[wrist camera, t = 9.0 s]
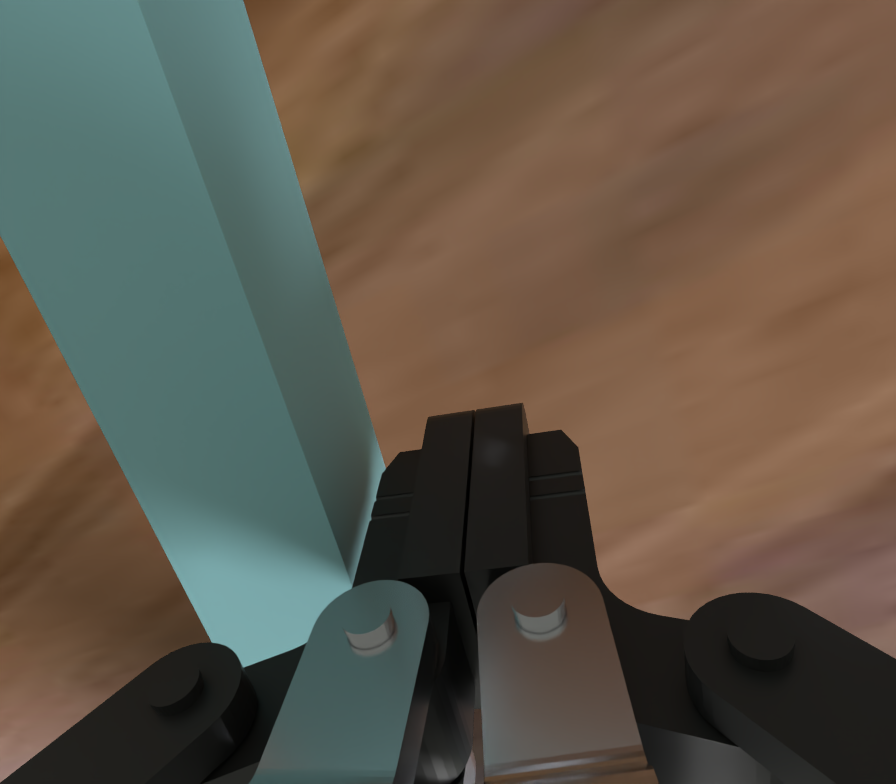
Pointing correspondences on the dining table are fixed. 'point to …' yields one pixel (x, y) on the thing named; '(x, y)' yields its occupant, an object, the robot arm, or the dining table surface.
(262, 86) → the latch arm
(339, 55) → the dining table surface
